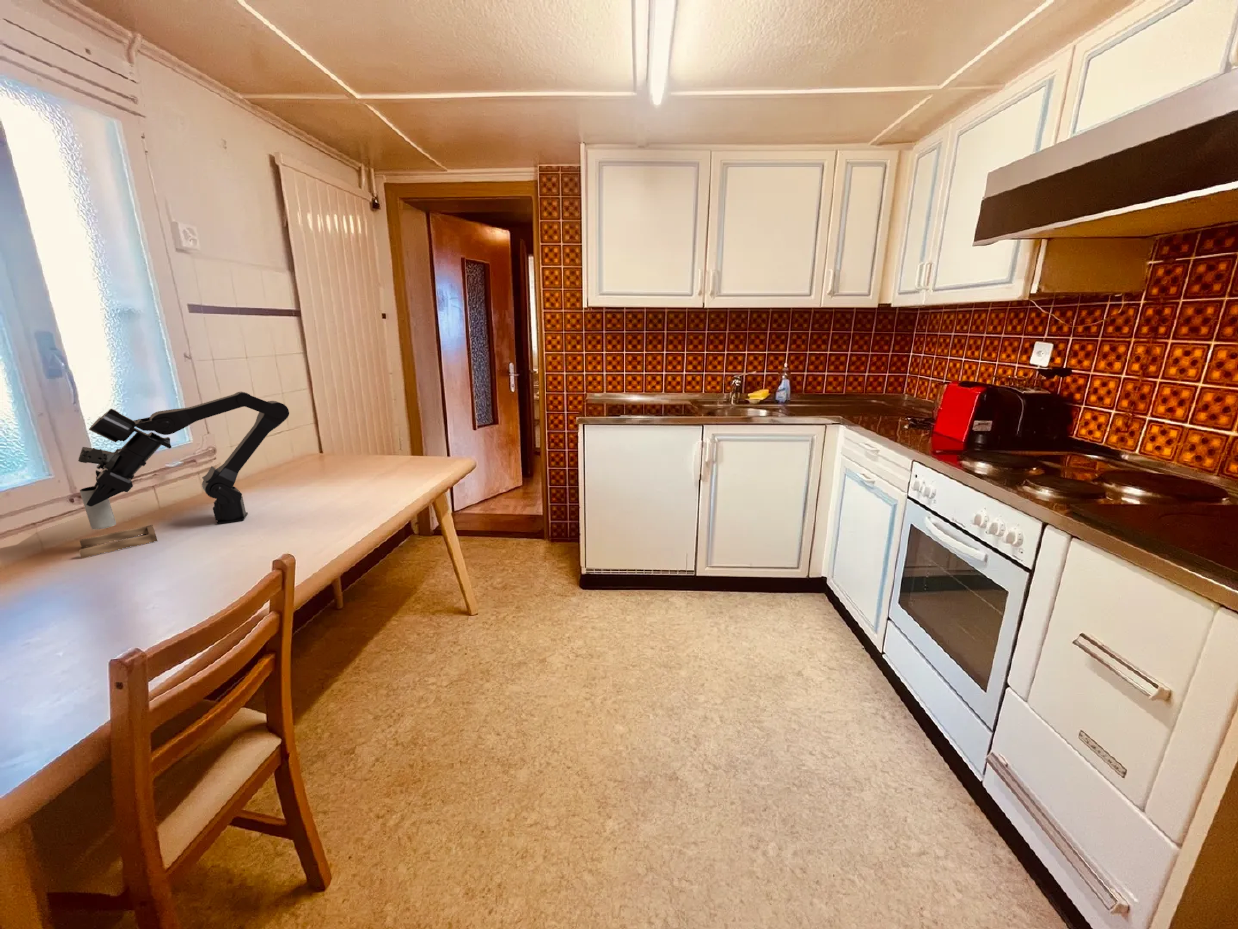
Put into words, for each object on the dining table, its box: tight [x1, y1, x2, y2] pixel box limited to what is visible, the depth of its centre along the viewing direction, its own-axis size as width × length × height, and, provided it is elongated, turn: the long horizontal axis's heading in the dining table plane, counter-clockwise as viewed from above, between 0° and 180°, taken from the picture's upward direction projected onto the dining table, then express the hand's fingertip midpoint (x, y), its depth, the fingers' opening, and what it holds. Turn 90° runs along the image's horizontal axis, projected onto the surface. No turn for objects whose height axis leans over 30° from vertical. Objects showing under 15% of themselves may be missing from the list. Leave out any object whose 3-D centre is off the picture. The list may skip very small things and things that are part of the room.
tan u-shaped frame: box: [78, 524, 158, 559], centre depth 131 cm, size 14×10×2 cm
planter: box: [79, 485, 117, 531], centre depth 127 cm, size 4×4×10 cm
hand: (88, 503), depth 126 cm, fingers closed on planter, 5 cm apart
